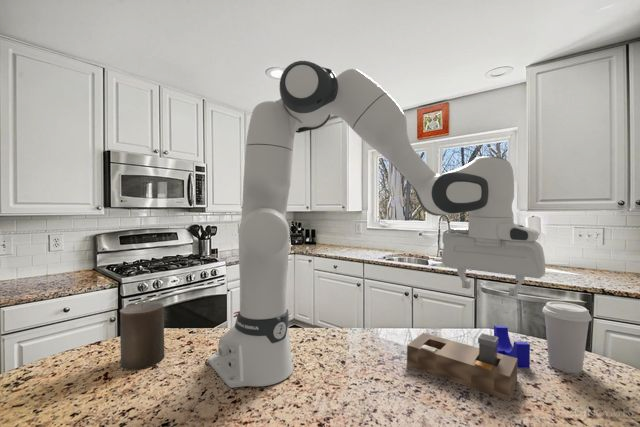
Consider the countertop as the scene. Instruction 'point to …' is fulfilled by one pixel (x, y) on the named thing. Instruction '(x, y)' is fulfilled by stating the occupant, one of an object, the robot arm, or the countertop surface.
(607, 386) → the countertop surface
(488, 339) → the plug
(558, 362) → the coffee cup
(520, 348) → the cable clip
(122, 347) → the pillar candle
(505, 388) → the socket block
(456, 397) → the countertop surface
